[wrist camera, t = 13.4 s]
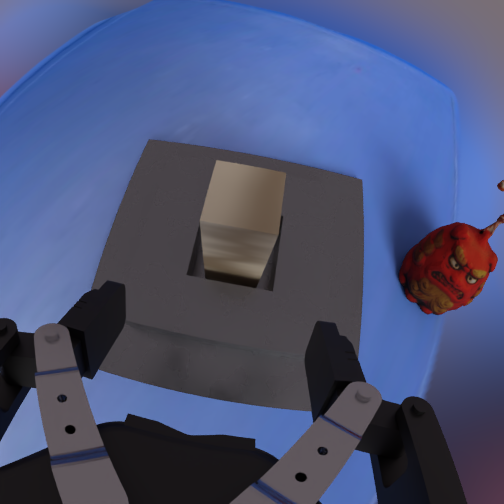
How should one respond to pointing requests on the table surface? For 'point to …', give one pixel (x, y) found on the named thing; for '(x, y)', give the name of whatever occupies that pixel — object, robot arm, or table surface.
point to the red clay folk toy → (449, 266)
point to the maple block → (240, 222)
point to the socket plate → (225, 294)
